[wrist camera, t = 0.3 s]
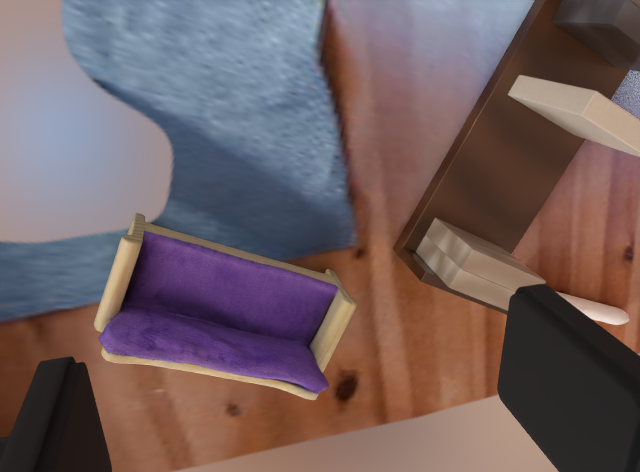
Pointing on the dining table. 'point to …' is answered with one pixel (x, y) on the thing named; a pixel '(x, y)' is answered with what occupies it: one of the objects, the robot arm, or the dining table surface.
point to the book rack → (515, 151)
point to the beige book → (580, 112)
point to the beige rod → (598, 310)
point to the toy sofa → (220, 311)
